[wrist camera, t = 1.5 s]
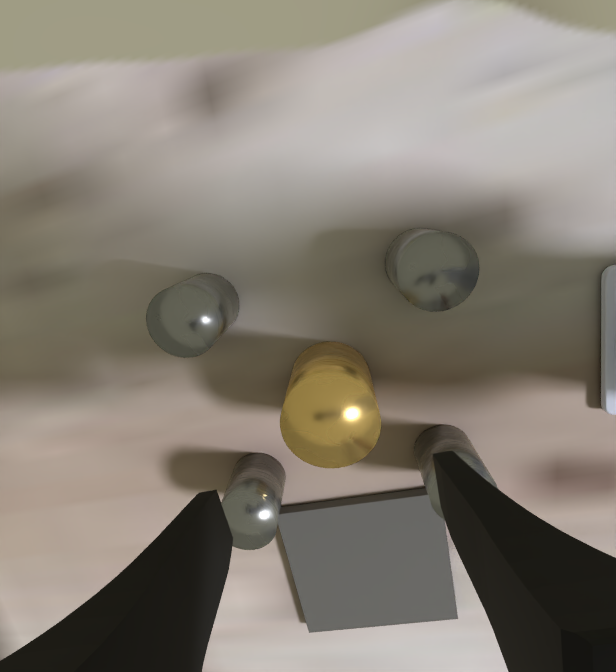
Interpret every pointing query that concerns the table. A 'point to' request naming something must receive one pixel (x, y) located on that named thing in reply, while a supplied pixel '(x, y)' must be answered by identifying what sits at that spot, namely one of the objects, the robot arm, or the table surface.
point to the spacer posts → (222, 309)
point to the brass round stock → (330, 407)
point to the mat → (369, 561)
